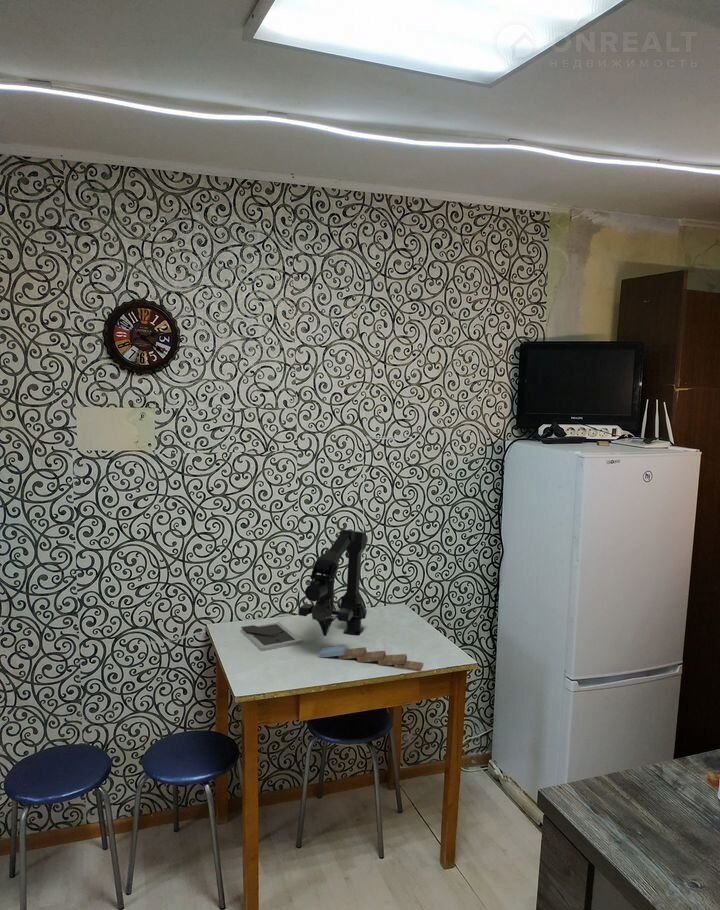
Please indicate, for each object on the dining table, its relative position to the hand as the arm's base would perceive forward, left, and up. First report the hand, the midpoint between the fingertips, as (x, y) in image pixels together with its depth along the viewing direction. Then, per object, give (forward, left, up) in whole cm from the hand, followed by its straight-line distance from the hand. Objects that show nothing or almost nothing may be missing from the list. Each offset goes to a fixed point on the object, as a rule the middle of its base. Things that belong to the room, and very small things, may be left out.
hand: (325, 635), depth 251 cm
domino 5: (0, +26, -7) cm, 27 cm away
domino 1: (+1, -1, -6) cm, 6 cm away
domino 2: (0, +6, -6) cm, 9 cm away
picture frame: (-7, -25, -8) cm, 27 cm away
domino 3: (0, +13, -6) cm, 14 cm away
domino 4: (0, +20, -6) cm, 21 cm away
